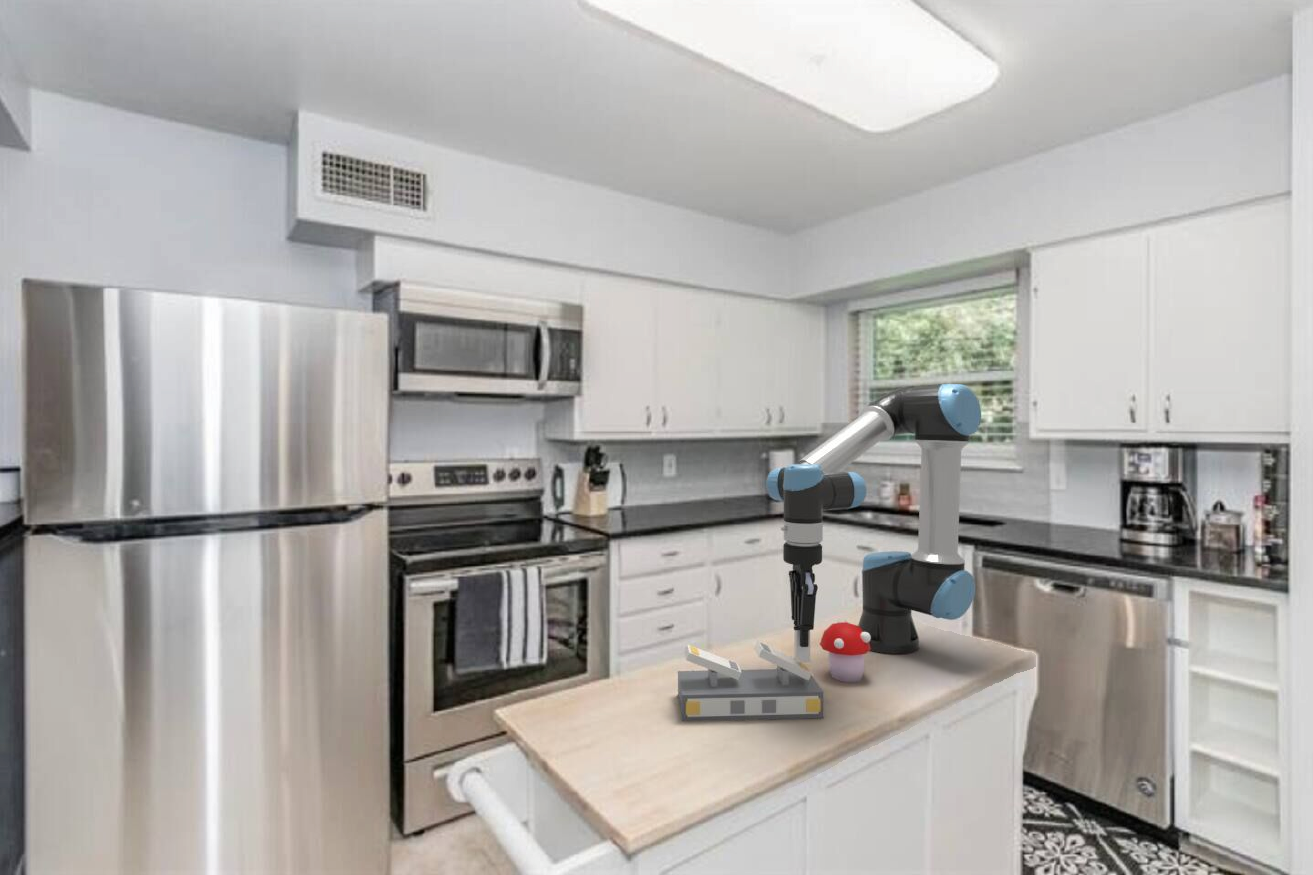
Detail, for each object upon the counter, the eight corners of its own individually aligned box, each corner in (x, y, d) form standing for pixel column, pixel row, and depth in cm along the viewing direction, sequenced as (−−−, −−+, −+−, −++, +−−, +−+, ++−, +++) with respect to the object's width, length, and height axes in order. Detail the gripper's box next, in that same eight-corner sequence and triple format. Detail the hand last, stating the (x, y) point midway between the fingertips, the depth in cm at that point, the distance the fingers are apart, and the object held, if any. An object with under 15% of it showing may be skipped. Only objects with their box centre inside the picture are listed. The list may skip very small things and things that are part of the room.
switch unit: (807, 691, 139) (807, 655, 139) (824, 718, 127) (824, 678, 127) (678, 694, 138) (677, 657, 138) (682, 722, 126) (682, 681, 126)
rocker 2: (802, 671, 135) (806, 663, 135) (808, 680, 130) (812, 672, 130) (754, 647, 135) (757, 640, 135) (758, 656, 130) (762, 648, 130)
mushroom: (870, 688, 141) (870, 632, 140) (817, 682, 144) (817, 627, 144) (871, 670, 151) (871, 617, 150) (821, 664, 154) (821, 613, 154)
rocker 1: (734, 670, 135) (738, 662, 135) (738, 680, 130) (741, 671, 130) (684, 651, 134) (687, 643, 134) (686, 660, 130) (689, 651, 130)
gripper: (776, 537, 138) (776, 649, 139) (791, 549, 125) (791, 673, 126) (812, 536, 139) (812, 649, 139) (831, 548, 126) (830, 672, 126)
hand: (802, 660), depth 133 cm, fingers closed
